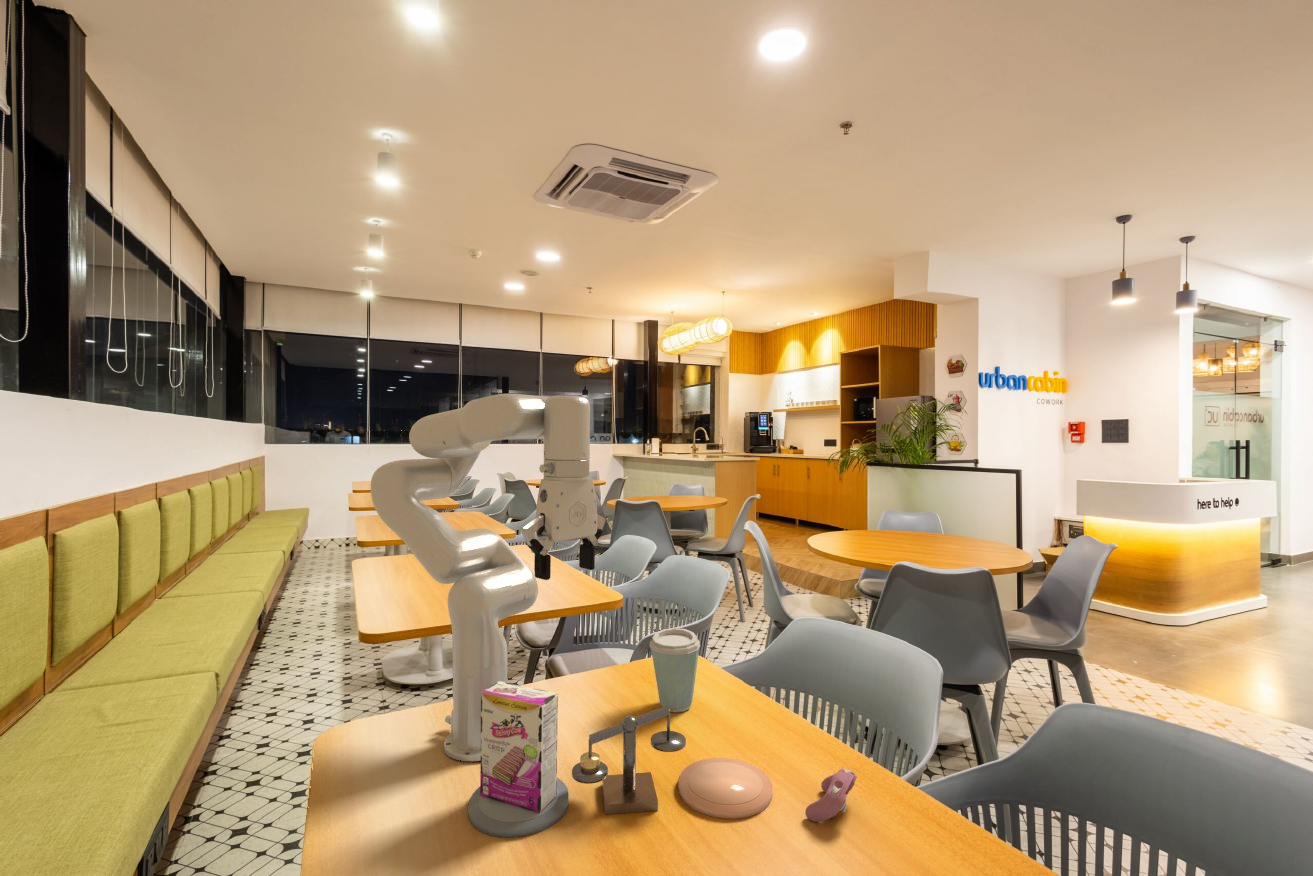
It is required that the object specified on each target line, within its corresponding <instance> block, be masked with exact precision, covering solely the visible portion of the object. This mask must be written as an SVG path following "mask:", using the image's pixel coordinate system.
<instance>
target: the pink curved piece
mask: <svg viewBox="0 0 1313 876" xmlns="http://www.w3.org/2000/svg"><path fill="white" fill-rule="evenodd" d="M857 778H858V775H856V774H855V773H854V772H852V771H851V770H849V769H848V770H847V769H846V767H843V768H840V769H839V770H838V771H837V772H835V773H834V774H832V775H829V776H826V777H825V778H823V780H822V782H821V784H820V787H821V789H822V791H823V792H824V793H825V792H826V793H825V794H824V795H823V797H821V798H820V799H818V800H816V801H814V802H812V803H809V805H808V806H807V807H806V808H805V812H804V813H805V817H806V818H807V819H808V820H809V821H812V822H815V823H816V822H818V823H819V822H824V821H827V820H829V819H831V818H832V819H834V818H835V816H837V814H838V813H839V812H840V811H842V813H845V812H846V811H847V809H848V804H846V802H847V797H848V794H849V793H850V792H851V790H852V789H853V787H854V786H855V783H856V780H857Z"/></svg>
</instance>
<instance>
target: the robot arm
mask: <svg viewBox="0 0 1313 876" xmlns="http://www.w3.org/2000/svg"><path fill="white" fill-rule="evenodd" d="M408 435H409V436H408V438H409V439H408V440H409V443H410V446H411V447H412V448H413V450H414V451H415V452H416V453H417V454H419V455H421V456H424V457H425V458H417V459H415V458H411V459H410V458H409V459H400V460H394V461H390V462H387V463H385V464H383V465H381V466H379V467H378V468H376V470H375V471H374V472H373V474H372V476H371V480H370V496H371V500H372V503H373V507H374V509H375V512H376V513H377V514H378V517H380V519H381V521H382V522H383V523H384V525H386V526H387V527H388V528H389V529H390V530H391V531H392V532H394V534H396V535H397V536H398V537H399V538H400V539H401V540H402V541H403V542H404V544H405V545H406V546H407V547H408V549H409V550H410V552H411V553H412V555H414V557H415V558H416V559H417V561H418V562H419V563H420V564H421V566H422V567H423V568H424V569H425V571H426V572H427V573H428V574H429V575H430V577H432V579H433V580H435V581H436V582H438V584H443V585H451V584H452V586H451V587H450V589H449V592H448V594H447V609H448V614H449V615H448V616H449V619H450V623H451V632H452V658H453V659H452V663H453V664H452V665H453V667H452V668H453V669H452V671H453V672H452V673H453V674H452V675H453V676H452V677H453V679H452V680H453V681H452V683H453V684H452V685H453V686H452V687H453V688H452V694H453V695H452V700H453V701H452V710H451V715H450V714H449V715H446V716H445V718H444V722H445V723H446V724H448V725H450V733H449V734H448V735H447V736H446V737H445V739H444V742H443V750H444V753H445V754H446V756H448V757H449V758H452V759H453V760H455V761H456V760H457V761H460V760H461V761H460V762H481V692H482V691H484V690H485V689H487V688H489V687H490V686H492V685H494V684H495V683H497V682H499V681H501V682H506V683H508V646H507V640H506V638H505V636H504V634H503V632H502V631H501V629H500V627H499V621H501V620H505V619H507V618H509V617H512V616H515V615H518V614H521V613H523V612H526V611H527V610H529V609H530V608H532V606H534V604H535V603H536V601H537V599H538V595H539V585H538V581H537V579H541V580H543V581H548V580H550V579H551V572H552V571H551V570H552V569H551V566H552V565H551V562H552V560H551V559H552V557H551V554H548V553H549V551H550V550H551V548H552V546H553V545H554V544H555V543H554V542H556V543H564V542H571V541H577V540H580V541H581V544H579V549H578V550H579V557H578V558H579V559H578V566H579V568H581V569H585V570H589V571H592V570H593V571H594V570H595V563H596V561H595V559H596V557H595V555H596V551H595V550H596V546H598V544H599V539H600V538H601V536H602V534H603V529H604V526H605V523H606V518H605V517H604V516H602V515H600V514H598V506H597V505H598V504H597V494H596V489H595V483H594V478H592V477H590V460H591V459H590V454H591V453H590V452H591V451H590V449H591V443H590V441H591V439H590V438H591V405H590V401H589V399H587V398H586V397H584V396H581V395H552V396H545V395H532V394H524V393H523V394H521V393H499V394H494V395H489V396H484V397H481V398H476V399H472V400H469V401H468V402H467V403H466V404H464V405H463V407H460V408H457V409H452V410H447V411H442V412H438V413H434V414H430V415H426V416H423V417H421V418H420V419H418V420H417V421H416V422H414V424H413V425H412V427H411V429H410V431H409V434H408ZM505 440H543V464H540V465H539V472H540V473H541V474H543V478H542V479H541V480H540V484H539V488H538V493H537V500H536V509H535V510H536V511H535V513H536V514H535V518H534V519H532V520H531V521H530V522H529V523H527V524H526V525H525V526H523V527H522V528H521V534H522V536H523V539H524V541H525V545H526V546H527V547H528V549H530V552H531V553H533V554H534V567H533V569H534V573H533V571H532V570H531V569H530V567H529V566H528V565H527V564H526V562H524V560H523V559H522V558H521V557H520V556H519V554H517V552H516V551H515V550H514V549H513V548H512V546H511V545H510V544H508V542H507V541H506V540H505V539H504V538H503V537H502V536H501V535H500V534H499V533H497V532H496V531H493V530H491V529H489V528H475V529H469V530H467V529H466V530H458V529H455V528H454V527H453V526H452V525H451V524H450V523H449V522H448V521H447V519H446V518H445V517H444V516H443V515H442V514H441V513H440V512H439V511H438V510H435V509H434V508H433V507H430V506H429V505H426V504H424V503H422V502H423V501H429V500H430V501H431V500H440V499H441V500H442V499H445V498H449V497H451V496H453V495H454V494H455V493H457V491H459V489H460V488H461V487H462V485H463V483H464V481H465V480H466V478H467V476H468V474H469V473H470V471H471V469H472V468H473V466H474V464H475V463H476V461H477V459H478V458H479V456H480V454H481V451H483V450H486V449H487V448H488V447H489V446H490V445H491V443H492V442H494V441H505ZM421 501H422V502H421ZM535 532H536V533H535ZM535 534H536V536H535ZM536 537H537V538H536ZM536 578H537V579H536Z"/></svg>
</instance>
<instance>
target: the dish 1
mask: <svg viewBox="0 0 1313 876" xmlns="http://www.w3.org/2000/svg"><path fill="white" fill-rule="evenodd" d="M569 799H570V798H569V788H568V787H567V785H566V783H564V782H563V780H561V779H560V778H559V777H557V796H556V798H555V799H554V800H553V801H552V802H551V803H549V804H548V806H547V807H546V808H545V809H544V810H543V811H542V812H541V813H538V812H535V811H532V810H528V809H525V808H521V807H518V806H515V805H511V804H508V803H504V802H501V801H497V800H494V799H490V798H487V797H483V796H480V786H478V788H476V789H475V790H474V792H473V793H472V795H471V796H470V798H469V801H468V806H467V807H468V809H467V811H468V812H467V814H468V820H469V822H470V824H471V825H472V826H473V827H474V828H475V829H476V830H477V831H479V832H481V833H482V834H485V835H488V836H490V837H491V836H492V837H496V838H508V839H509V838H520V837H522V838H523V837H526V836H531V835H533V834H537V833H541V832H543V831H545V830H546V829H549V828H551V827H552V826H554V825H555V824H556V823H557V822H559V821H560V820H561V819H562V818H563V817H564V815H565V814H566V811H567V810H568V807H569Z"/></svg>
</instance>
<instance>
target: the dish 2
mask: <svg viewBox="0 0 1313 876" xmlns="http://www.w3.org/2000/svg"><path fill="white" fill-rule="evenodd" d="M678 793H679V795H680V797H681V799H682V801H683V802H684V803H685V804H686V805H687V806H688V807H690V808H691V809H692V810H694V811H696V812H698V813H700V814H703V815H705V816H707V817H713V818H717V819H727V820H731V819H732V820H735V819H736V820H737V819H738V820H740V819H745V818H751V817H752V816H756V815H757V814H759V813H761V812H763V811H765V810H766V809H767V808H768V807H769V806H770V804H771V803H772V800H773V784H772V781H771V779H770V777H769V776H768V775H767V774H766V773H765V772H764V771H763V770H762V769H761V768H759V767H757V766H756V765H754V764H752V763H750V762H749V763H748V762H747V761H743V760H739V759H735V758H734V759H733V758H729V757H711V758H705V759H701V760H697V761H695V762H693V763H691V764H689V765H688V766H686V767H685V768H684V769H683V770H682V771H681V772H680V775H679V777H678Z"/></svg>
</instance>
